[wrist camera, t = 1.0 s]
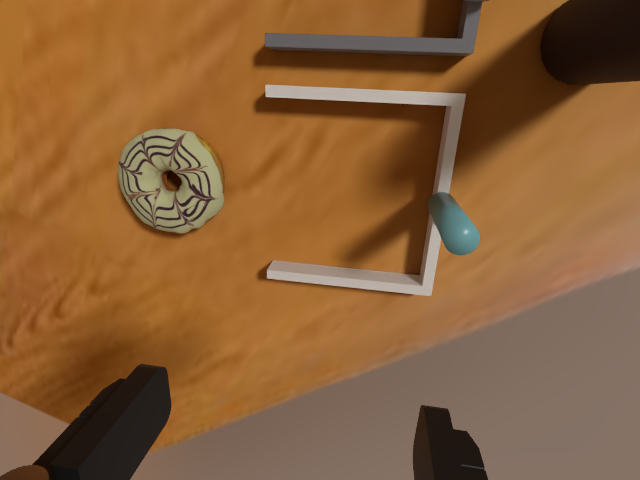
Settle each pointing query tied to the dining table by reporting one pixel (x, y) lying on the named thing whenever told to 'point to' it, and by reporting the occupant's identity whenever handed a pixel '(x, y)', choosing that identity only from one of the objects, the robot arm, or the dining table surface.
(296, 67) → the dining table surface
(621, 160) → the dining table surface
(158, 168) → the decorated donut
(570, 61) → the vinegar
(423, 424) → the robot arm
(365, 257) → the dining table surface
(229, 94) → the dining table surface
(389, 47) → the grey u-shaped handle
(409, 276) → the white u-shaped bracket
